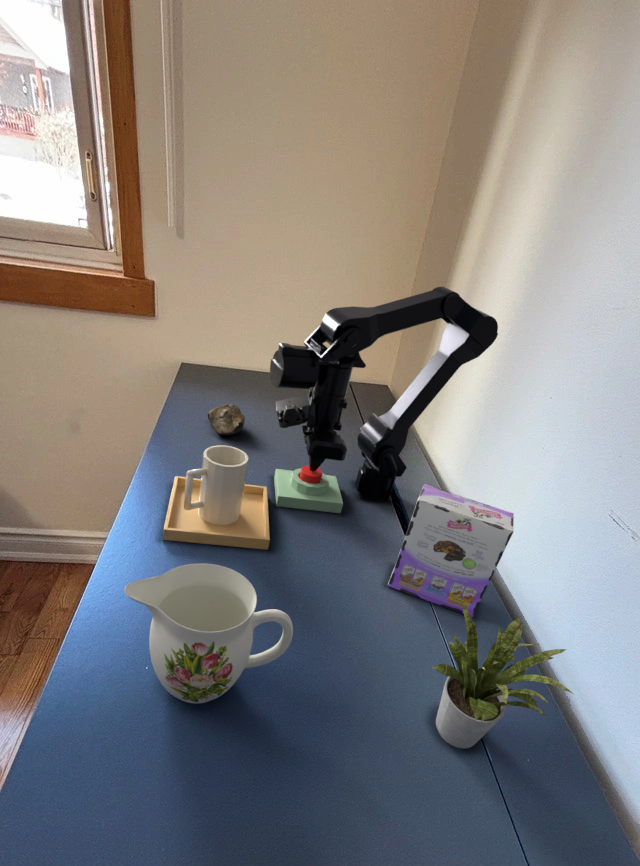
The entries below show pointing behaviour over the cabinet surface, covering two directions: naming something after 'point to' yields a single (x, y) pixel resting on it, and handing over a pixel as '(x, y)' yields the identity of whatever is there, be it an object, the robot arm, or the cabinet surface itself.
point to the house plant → (485, 684)
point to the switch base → (307, 492)
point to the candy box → (451, 549)
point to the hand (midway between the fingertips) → (312, 470)
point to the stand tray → (194, 529)
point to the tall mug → (219, 485)
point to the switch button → (310, 475)
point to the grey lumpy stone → (226, 419)
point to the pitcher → (204, 629)
